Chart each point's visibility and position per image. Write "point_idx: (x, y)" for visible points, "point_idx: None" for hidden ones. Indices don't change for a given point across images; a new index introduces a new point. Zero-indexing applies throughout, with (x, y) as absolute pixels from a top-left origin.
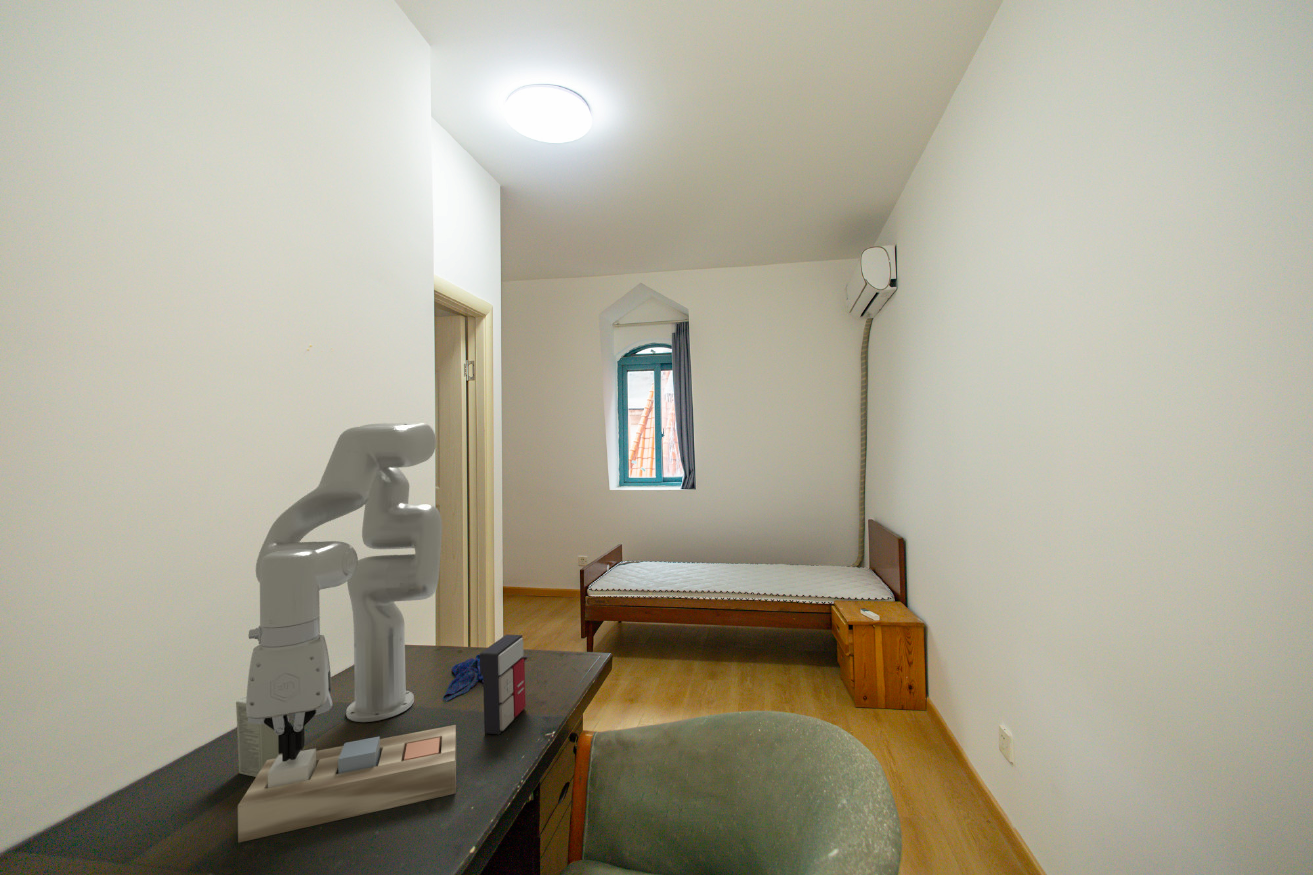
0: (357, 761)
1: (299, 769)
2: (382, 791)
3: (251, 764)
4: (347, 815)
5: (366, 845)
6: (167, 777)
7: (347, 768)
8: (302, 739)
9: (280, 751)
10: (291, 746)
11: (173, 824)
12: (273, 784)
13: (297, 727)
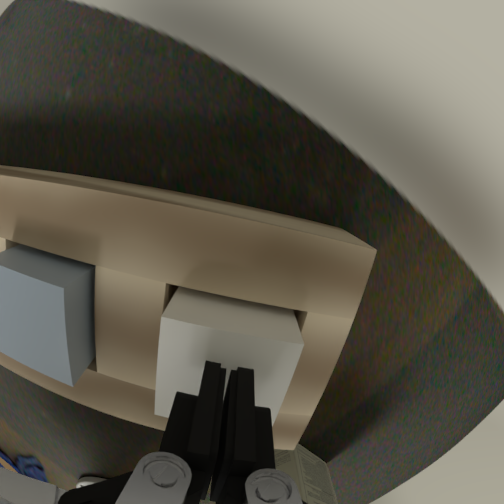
0: (30, 265)
1: (192, 316)
2: (24, 172)
3: (313, 467)
4: (108, 180)
5: (90, 58)
6: (402, 472)
7: (61, 267)
8: (168, 426)
9: (262, 410)
10: (212, 401)
11: (426, 365)
12: (279, 317)
13: (169, 474)
